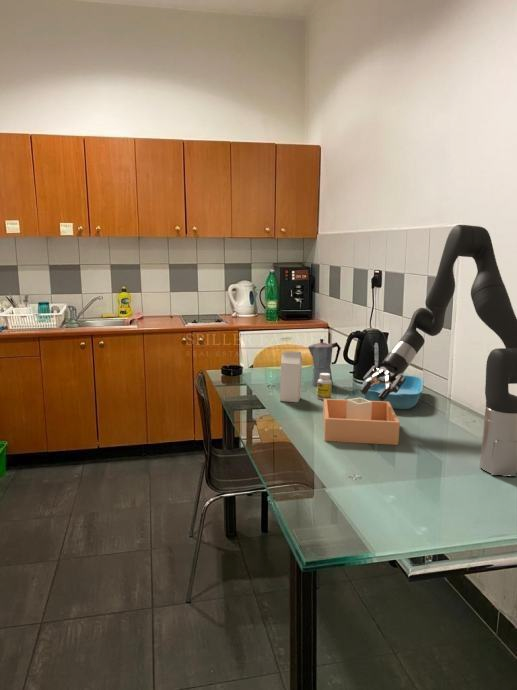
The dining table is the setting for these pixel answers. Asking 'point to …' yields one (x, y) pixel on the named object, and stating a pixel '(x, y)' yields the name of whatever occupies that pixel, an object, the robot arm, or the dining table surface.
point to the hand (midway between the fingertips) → (370, 396)
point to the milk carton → (290, 376)
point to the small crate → (359, 409)
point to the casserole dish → (403, 397)
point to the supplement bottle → (324, 386)
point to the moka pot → (322, 359)
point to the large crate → (360, 424)
